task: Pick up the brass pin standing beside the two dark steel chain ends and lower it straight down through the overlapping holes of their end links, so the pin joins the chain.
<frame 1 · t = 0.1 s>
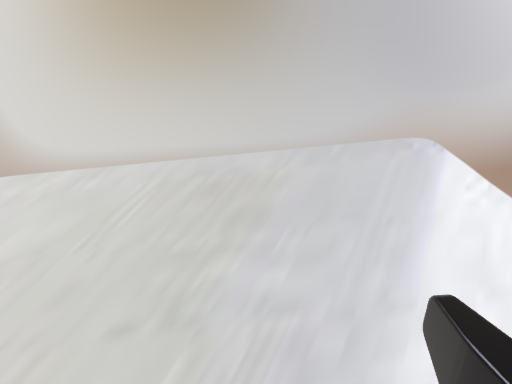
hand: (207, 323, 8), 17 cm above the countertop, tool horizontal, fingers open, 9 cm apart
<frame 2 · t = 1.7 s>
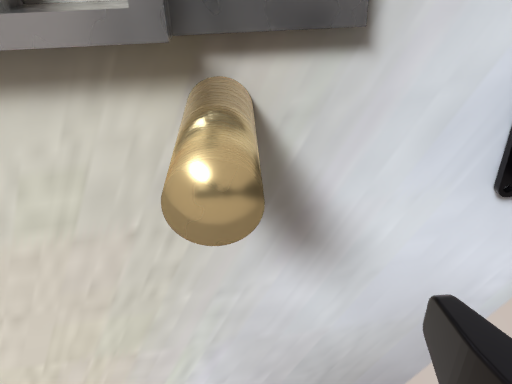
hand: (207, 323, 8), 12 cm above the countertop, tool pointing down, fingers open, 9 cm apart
brass pin: (219, 109, 19), on the countertop
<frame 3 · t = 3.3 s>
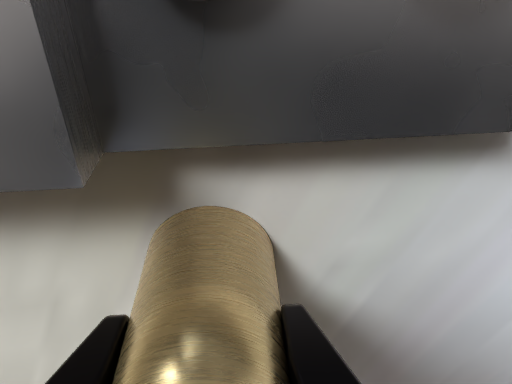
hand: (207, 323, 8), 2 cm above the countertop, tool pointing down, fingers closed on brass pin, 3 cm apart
brass pin: (211, 258, 10), on the countertop, touching gripper
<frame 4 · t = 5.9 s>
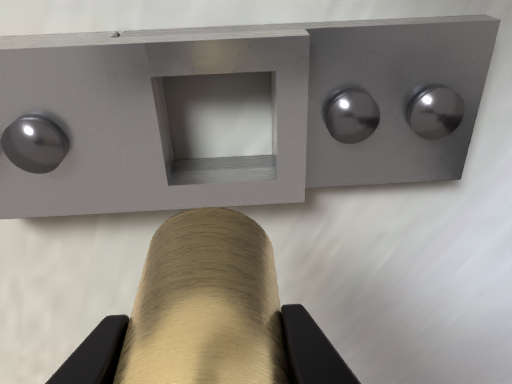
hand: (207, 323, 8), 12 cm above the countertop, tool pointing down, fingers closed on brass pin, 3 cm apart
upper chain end: (219, 110, 19), on the countertop
lower chain end: (219, 110, 19), on the countertop
brass pin: (211, 259, 10), point 10 cm above the countertop, touching gripper
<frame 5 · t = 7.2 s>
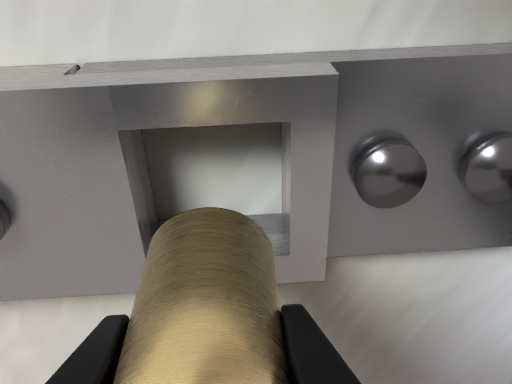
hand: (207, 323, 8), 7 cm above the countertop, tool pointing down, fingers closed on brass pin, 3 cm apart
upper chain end: (214, 161, 14), on the countertop
lower chain end: (214, 161, 14), on the countertop
brass pin: (211, 259, 10), point 5 cm above the countertop, touching gripper
when the fingers open (4 cm above the countertop, at t = 8.3 s): brass pin drops 2 cm, resting in lower chain end.
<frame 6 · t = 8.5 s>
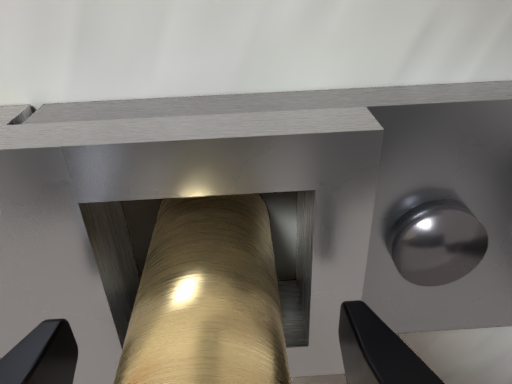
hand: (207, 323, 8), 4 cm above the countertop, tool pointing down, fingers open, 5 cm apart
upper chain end: (212, 221, 11), on the countertop
lower chain end: (212, 221, 11), on the countertop
brass pin: (213, 222, 11), resting in lower chain end
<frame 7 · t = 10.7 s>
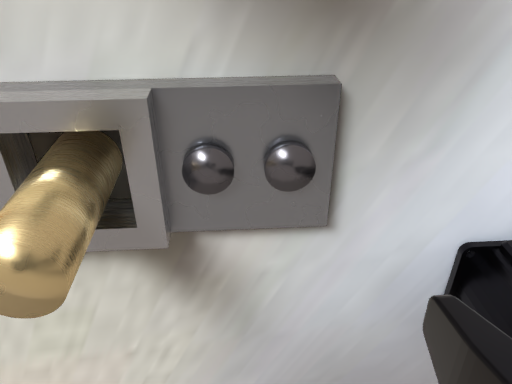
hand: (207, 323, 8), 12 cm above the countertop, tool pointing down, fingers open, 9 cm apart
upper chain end: (87, 157, 19), on the countertop
lower chain end: (87, 157, 19), on the countertop
brass pin: (88, 158, 19), resting in lower chain end
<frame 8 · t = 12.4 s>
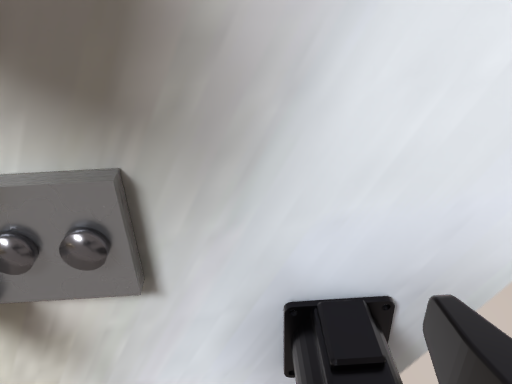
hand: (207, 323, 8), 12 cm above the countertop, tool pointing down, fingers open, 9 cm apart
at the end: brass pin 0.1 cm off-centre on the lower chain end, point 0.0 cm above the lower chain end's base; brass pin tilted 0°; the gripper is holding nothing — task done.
